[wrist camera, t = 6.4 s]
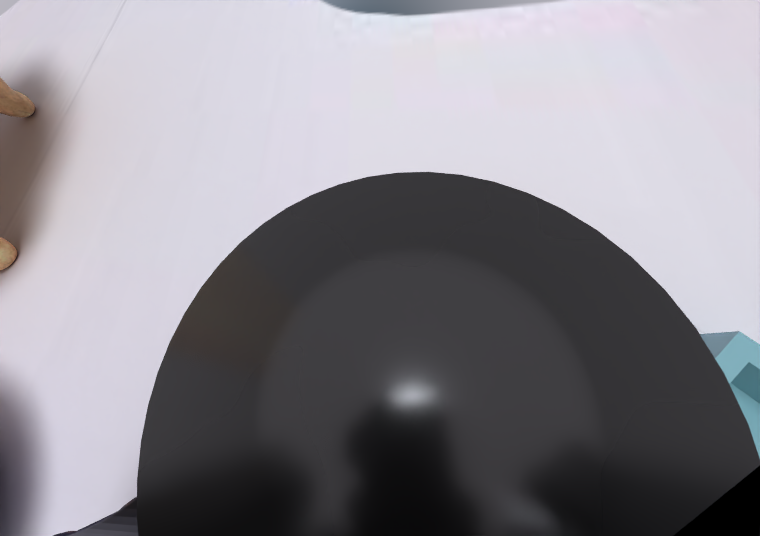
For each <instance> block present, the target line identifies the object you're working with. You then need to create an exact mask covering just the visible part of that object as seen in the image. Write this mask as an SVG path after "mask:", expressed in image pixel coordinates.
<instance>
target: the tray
mask: <svg viewBox="0 0 760 536" xmlns="http://www.w3.org/2000/svg"><path fill="white" fill-rule="evenodd" d="M700 336H701V337H702V339H703V340H704V342H705V344H706V345H707V347H708V348H709V350H710V352H711V353H712V355H713V356H714V358H715V359H716V361H717V363H718V364H719V366H720V367H721V369H722V371H723V372H724V374H725V376H726V378H727V380H728V382H729V384H730V386H731V389H732V391H733V393H734V395H735V397H736V399H737V401H738V403H739V406H740V408H741V410H742V412H743V414H744V416H745V418H746V420H747V422H748V425H749V427H750V431H751V434H752V437H753V440H754V443H755V446H756V449H757V452H758V455H759V458H760V345H759V344H758V343H756V342H755V341H753V340H752V339H750V338H749V337H747V336H746V335H744V334H743V333H741V332H739V331H738V332H724V333H711V334H700Z"/></svg>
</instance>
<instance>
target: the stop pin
mask: <svg viewBox="0 0 760 536" xmlns="http://www.w3.org/2000/svg"><path fill="white" fill-rule="evenodd" d="M137 525H138V536H759V533H760V458H759V455H758V452H757V449H756V446H755V443H754V440H753V437H752V434H751V431H750V427H749V425H748V422H747V420H746V418H745V416H744V414H743V412H742V410H741V408H740V406H739V403H738V401H737V399H736V397H735V395H734V393H733V391H732V389H731V386H730V384H729V382H728V380H727V378H726V376H725V374H724V372H723V371H722V369H721V367H720V366H719V364H718V363H717V361H716V359H715V358H714V356H713V355H712V353H711V352H710V350H709V348H708V347H707V345H706V344H705V342H704V340H703V339H702V337H701V336H700V334H699V332H698V331H697V329H696V328H695V327H694V325H693V324H692V323H691V322H690V320H689V319H688V318H687V317H686V315H685V314H684V313H683V312H682V311H681V309H680V308H679V307H678V306H677V304H676V303H675V302H674V301H673V299H672V298H671V297H670V296H669V294H668V293H667V292H666V291H665V290H664V289H663V288H662V287H661V286H660V285H659V284H658V283H657V282H656V281H655V280H654V279H653V278H652V277H651V276H650V275H649V274H648V273H647V272H646V271H645V270H644V269H643V268H642V267H641V266H640V265H639V264H638V263H637V262H636V261H635V260H634V259H633V258H632V257H631V256H629V255H628V254H627V253H626V252H624V251H623V250H622V249H620V248H619V247H618V246H617V245H615V244H614V243H613V242H612V241H610V240H609V239H608V238H606V237H605V236H604V235H603V234H601V233H600V232H599V231H597V230H596V229H594V228H593V227H591V226H589V225H588V224H586V223H584V222H583V221H581V220H579V219H578V218H576V217H575V216H573V215H571V214H570V213H568V212H566V211H565V210H563V209H561V208H559V207H557V206H555V205H553V204H550V203H548V202H546V201H544V200H542V199H540V198H537V197H535V196H533V195H531V194H529V193H526V192H523V191H520V190H517V189H514V188H511V187H508V186H505V185H502V184H499V183H496V182H492V181H488V180H483V179H478V178H473V177H468V176H463V175H456V174H445V173H434V172H411V173H393V174H386V175H379V176H372V177H366V178H362V179H358V180H354V181H351V182H347V183H343V184H339V185H337V186H334V187H331V188H329V189H326V190H324V191H321V192H318V193H316V194H313V195H311V196H309V197H307V198H305V199H303V200H301V201H300V202H298V203H296V204H294V205H292V206H290V207H288V208H286V209H285V210H283V211H282V212H280V213H279V214H277V215H276V216H274V217H273V218H271V219H270V220H268V221H267V222H265V223H264V224H262V225H261V226H260V227H259V228H258V229H256V230H255V231H254V232H253V233H252V234H250V235H249V236H248V237H247V238H246V239H244V240H243V241H242V242H241V243H240V244H239V245H238V246H237V247H236V248H235V249H234V250H233V251H232V252H231V253H230V254H229V255H228V256H227V257H226V258H225V259H224V260H223V261H222V262H221V263H220V265H219V266H218V267H217V268H216V270H215V271H214V272H213V273H212V275H211V276H210V277H209V278H208V280H207V281H206V282H205V283H204V285H203V286H202V287H201V289H200V290H199V292H198V293H197V295H196V297H195V298H194V300H193V301H192V303H191V304H190V306H189V307H188V309H187V311H186V312H185V314H184V316H183V318H182V320H181V322H180V324H179V325H178V327H177V329H176V331H175V333H174V335H173V337H172V339H171V341H170V343H169V346H168V348H167V351H166V353H165V356H164V358H163V361H162V363H161V366H160V369H159V371H158V374H157V377H156V381H155V384H154V388H153V391H152V394H151V398H150V401H149V405H148V409H147V414H146V419H145V424H144V430H143V435H142V440H141V448H140V458H139V468H138V478H137Z"/></svg>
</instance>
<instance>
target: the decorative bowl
mask: <svg viewBox="0 0 760 536" xmlns="http://www.w3.org/2000/svg"><path fill="white" fill-rule="evenodd" d="M34 111H35V106H34V104H33V102H32V101H31V100H30V99H29V98H28V97H27V96H25V95H24V94H22V93H20V92H17V91H14V90H12V89H11V88H10V87H9V86H8V85H7V84H6V83H5V82H4V81H3V80H2V79H1V78H0V113H2V114H5V115H9V116H14V117H28V116H30V115H32V114H33V113H34ZM16 257H17V250H16V248H15V247H14V246H13V245H12V244H11V243H9V242H8V241H7V240H5V239H3V238H2V237H0V271H1V270H3V269H5V268H7V267H8V266H10V265H11V264H12V263H13V262H14V260H15V259H16Z"/></svg>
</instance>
